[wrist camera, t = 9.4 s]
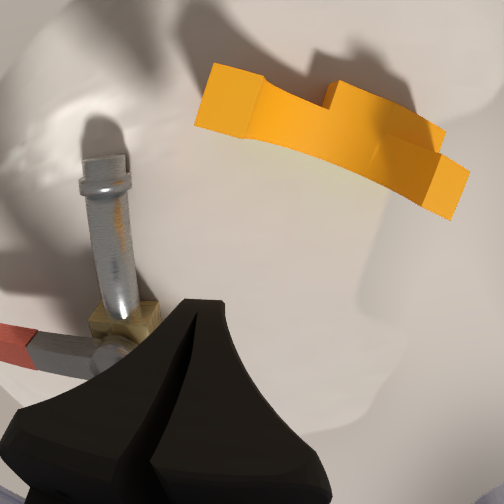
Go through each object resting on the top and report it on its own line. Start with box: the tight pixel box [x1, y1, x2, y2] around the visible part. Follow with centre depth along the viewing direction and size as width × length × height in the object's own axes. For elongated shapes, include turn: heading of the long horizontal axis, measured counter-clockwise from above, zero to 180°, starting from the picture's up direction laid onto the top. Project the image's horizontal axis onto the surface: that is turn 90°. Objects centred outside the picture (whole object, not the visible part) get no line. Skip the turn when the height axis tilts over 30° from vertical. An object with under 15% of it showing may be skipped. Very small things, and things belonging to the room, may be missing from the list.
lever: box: [0, 323, 137, 380], centre depth 18 cm, size 14×3×2 cm, turn 90°
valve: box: [78, 154, 161, 346], centre depth 20 cm, size 19×4×3 cm, turn 178°
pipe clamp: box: [194, 63, 470, 221], centre depth 14 cm, size 12×4×6 cm, turn 72°
